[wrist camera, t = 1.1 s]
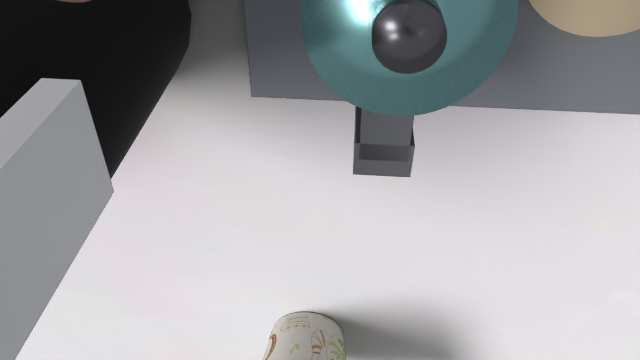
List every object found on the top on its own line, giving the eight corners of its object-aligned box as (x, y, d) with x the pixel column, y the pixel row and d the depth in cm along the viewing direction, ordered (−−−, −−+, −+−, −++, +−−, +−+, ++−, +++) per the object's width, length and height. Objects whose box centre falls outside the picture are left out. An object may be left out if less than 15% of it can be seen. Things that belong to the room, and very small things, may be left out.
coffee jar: (188, -109, 24) (-61, 81, 10) (204, 95, 31) (68, 378, 17) (-43, -132, 24) (-607, 26, 10) (23, 77, 31) (-261, 343, 17)
